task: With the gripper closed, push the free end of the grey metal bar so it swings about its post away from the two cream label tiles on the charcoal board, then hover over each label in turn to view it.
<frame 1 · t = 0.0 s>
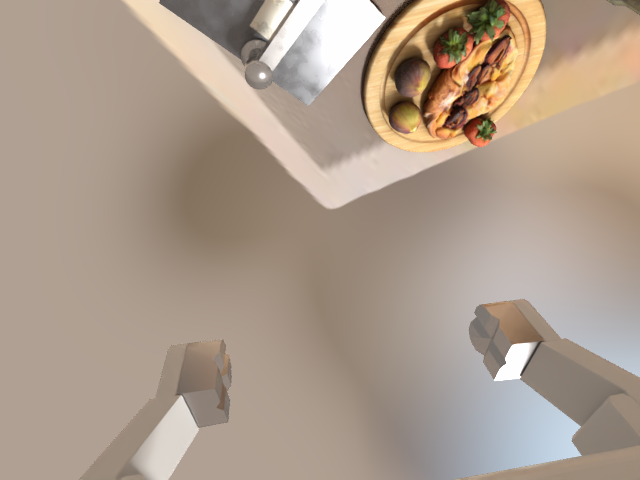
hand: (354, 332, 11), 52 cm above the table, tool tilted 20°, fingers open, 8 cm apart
swing bar: (294, 22, 45), point 7 cm above the table, hinge at 0.0°
board: (277, 6, 48), on the table
wooden plate with food: (447, 75, 62), on the table
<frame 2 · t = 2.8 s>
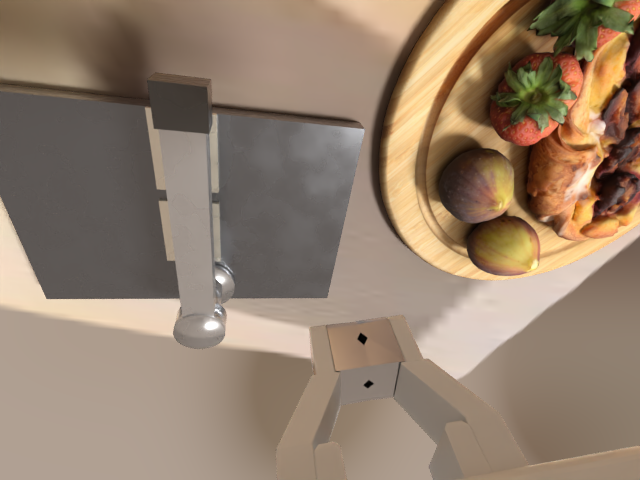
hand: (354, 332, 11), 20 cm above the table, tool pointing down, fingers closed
swing bar: (194, 243, 23), point 7 cm above the table, hinge at 0.0°
board: (194, 211, 29), on the table
wooden plate with food: (547, 133, 31), on the table
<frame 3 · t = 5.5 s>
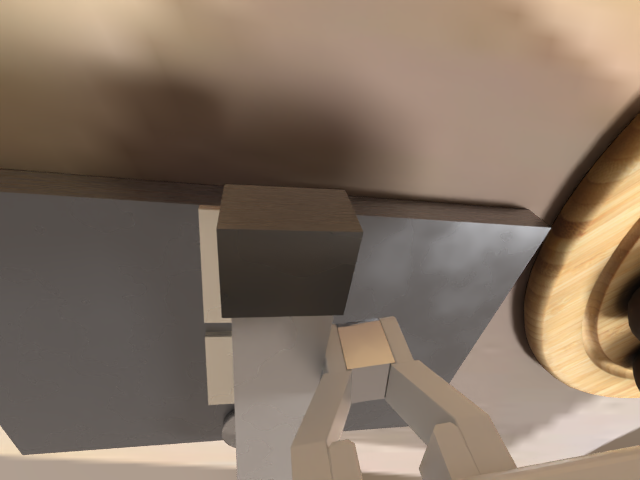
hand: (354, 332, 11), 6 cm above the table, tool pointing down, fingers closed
swing bar: (269, 442, 13), point 7 cm above the table, hinge at 2.0°, touching gripper
board: (252, 332, 19), on the table
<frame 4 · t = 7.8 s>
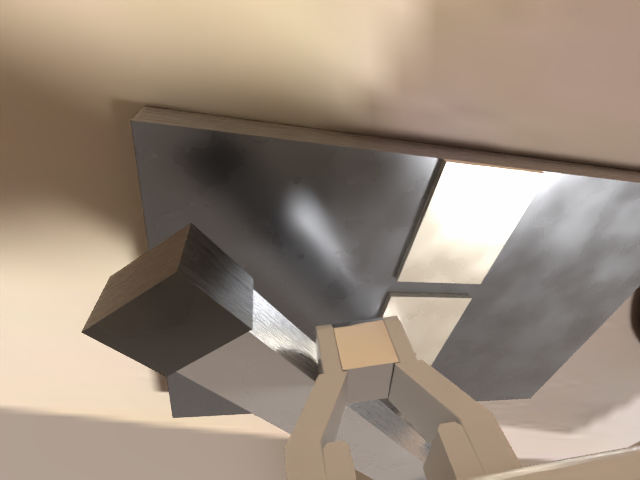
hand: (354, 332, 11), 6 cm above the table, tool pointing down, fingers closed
swing bar: (351, 424, 14), point 7 cm above the table, hinge at 42.0°, touching gripper
board: (406, 298, 20), on the table
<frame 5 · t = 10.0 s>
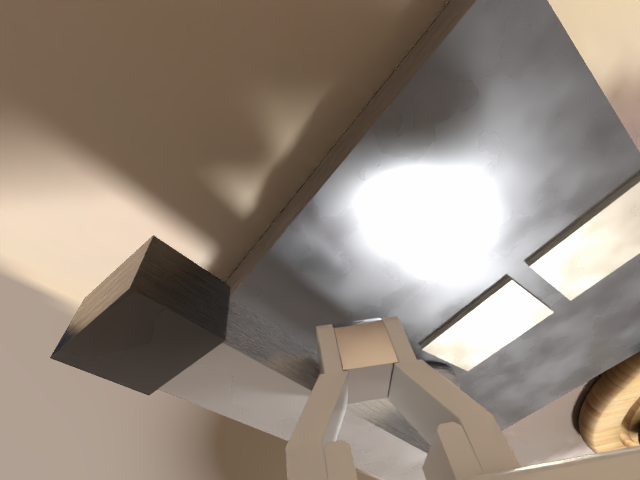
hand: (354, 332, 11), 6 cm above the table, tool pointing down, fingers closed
swing bar: (362, 428, 13), point 7 cm above the table, hinge at 77.7°, touching gripper
board: (483, 295, 20), on the table
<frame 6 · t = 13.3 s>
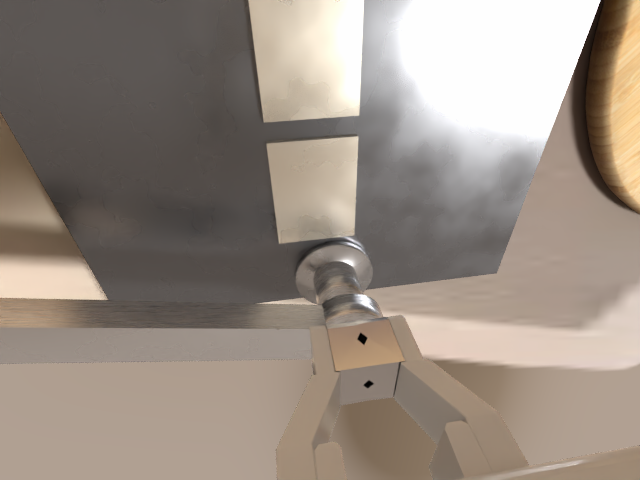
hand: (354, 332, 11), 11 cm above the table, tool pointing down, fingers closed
swing bar: (180, 332, 16), point 7 cm above the table, hinge at 77.8°
board: (310, 162, 19), on the table
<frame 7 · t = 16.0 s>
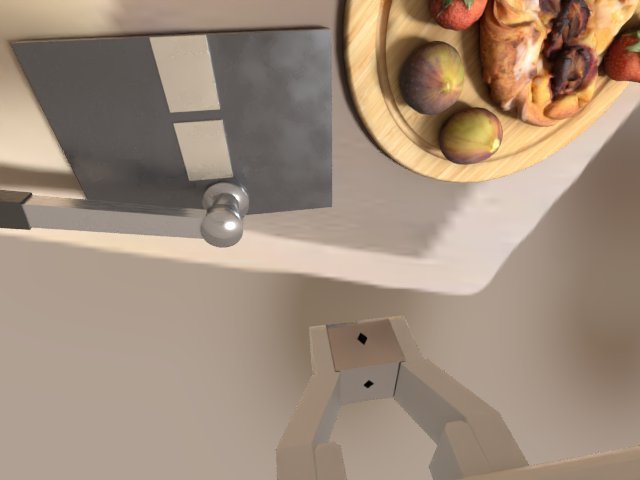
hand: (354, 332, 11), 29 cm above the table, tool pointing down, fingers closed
swing bar: (129, 218, 32), point 7 cm above the table, hinge at 77.8°
board: (205, 135, 35), on the table
wooden plate with food: (499, 27, 33), on the table
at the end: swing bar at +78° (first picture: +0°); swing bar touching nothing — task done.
